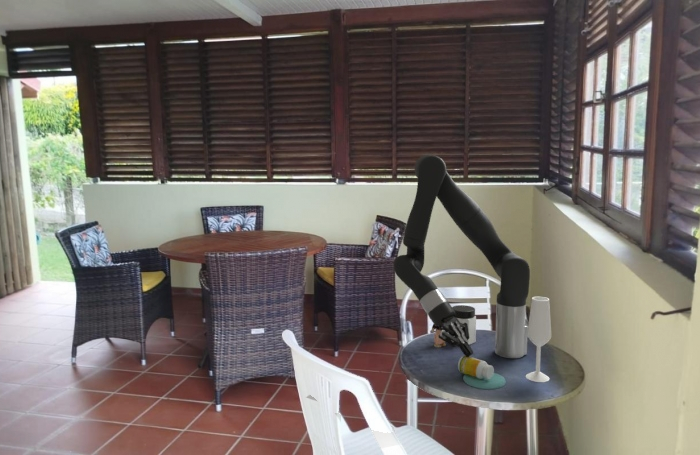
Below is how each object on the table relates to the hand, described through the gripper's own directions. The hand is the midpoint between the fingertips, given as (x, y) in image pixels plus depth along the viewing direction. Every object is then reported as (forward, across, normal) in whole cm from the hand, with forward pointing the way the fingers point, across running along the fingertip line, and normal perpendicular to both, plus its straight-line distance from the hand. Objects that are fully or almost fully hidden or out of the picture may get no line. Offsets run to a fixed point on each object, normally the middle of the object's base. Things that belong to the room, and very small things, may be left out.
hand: (470, 355), depth 162 cm
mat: (+8, 0, +1) cm, 8 cm away
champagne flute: (+15, +13, -6) cm, 21 cm away
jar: (-8, +24, +18) cm, 31 cm away
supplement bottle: (0, 0, +4) cm, 4 cm away
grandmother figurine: (-11, +14, +20) cm, 27 cm away
